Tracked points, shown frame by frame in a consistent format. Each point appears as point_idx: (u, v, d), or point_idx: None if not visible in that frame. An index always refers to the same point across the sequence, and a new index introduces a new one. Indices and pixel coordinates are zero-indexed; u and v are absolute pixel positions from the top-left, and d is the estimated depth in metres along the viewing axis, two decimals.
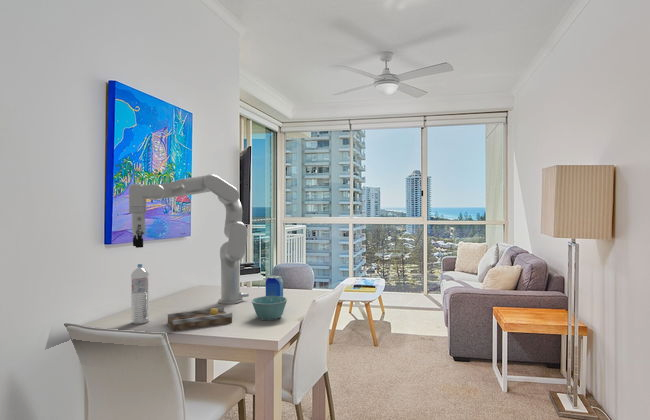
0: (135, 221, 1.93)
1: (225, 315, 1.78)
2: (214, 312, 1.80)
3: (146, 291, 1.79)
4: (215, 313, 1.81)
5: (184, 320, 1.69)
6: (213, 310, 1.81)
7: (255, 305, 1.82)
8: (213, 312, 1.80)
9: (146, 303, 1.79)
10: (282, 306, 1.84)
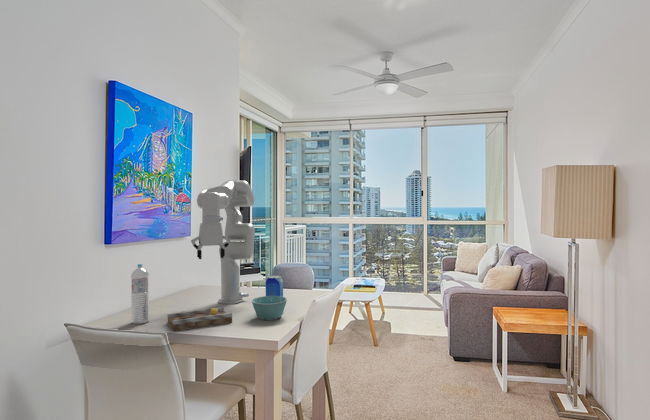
0: (222, 231, 1.88)
1: (225, 315, 1.78)
2: (214, 312, 1.80)
3: (146, 291, 1.79)
4: (215, 313, 1.81)
5: (184, 320, 1.69)
6: (213, 310, 1.81)
7: (255, 305, 1.82)
8: (213, 312, 1.80)
9: (146, 303, 1.79)
10: (282, 306, 1.84)
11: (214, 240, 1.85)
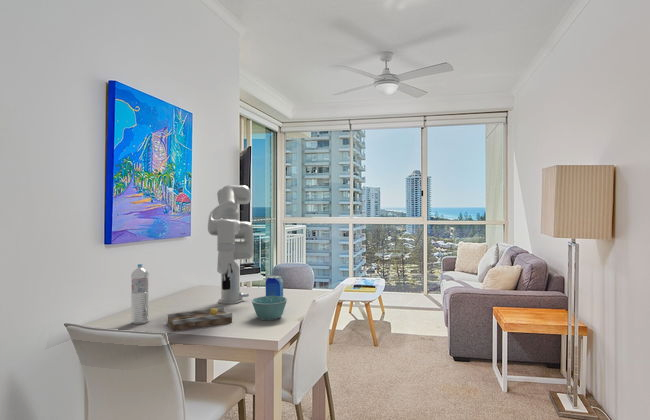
0: None
1: (225, 315, 1.78)
2: (214, 312, 1.80)
3: (146, 291, 1.79)
4: (215, 313, 1.81)
5: (184, 320, 1.69)
6: (213, 310, 1.81)
7: (255, 305, 1.82)
8: (213, 312, 1.80)
9: (146, 303, 1.79)
10: (282, 306, 1.84)
11: None
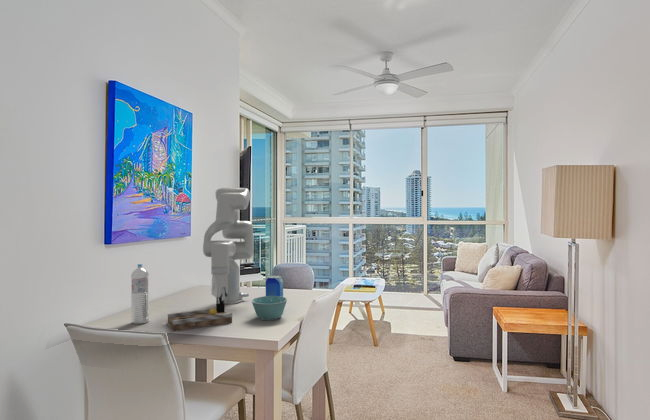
0: None
1: (225, 315, 1.78)
2: (213, 312, 1.80)
3: (146, 291, 1.79)
4: (214, 313, 1.81)
5: (184, 320, 1.69)
6: (212, 311, 1.80)
7: (255, 305, 1.82)
8: (212, 312, 1.80)
9: (146, 303, 1.79)
10: (282, 306, 1.84)
11: None
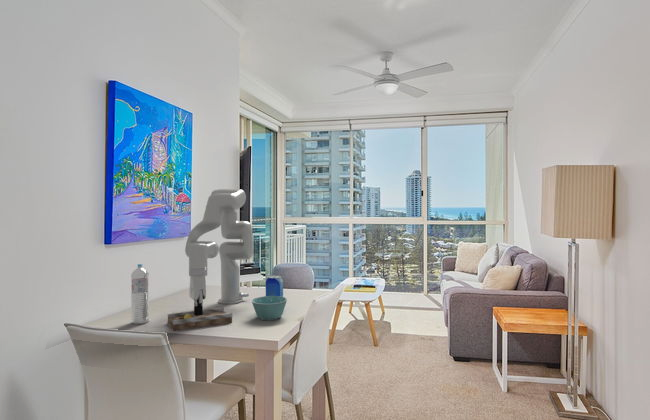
0: None
1: (225, 315, 1.78)
2: None
3: (146, 291, 1.79)
4: None
5: (184, 320, 1.69)
6: None
7: (255, 305, 1.82)
8: None
9: (146, 303, 1.79)
10: (282, 306, 1.84)
11: None
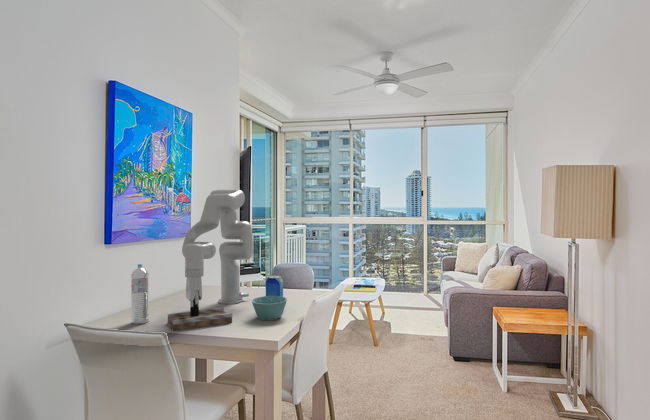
0: None
1: (225, 315, 1.78)
2: None
3: (146, 291, 1.79)
4: None
5: (184, 320, 1.69)
6: None
7: (255, 305, 1.82)
8: None
9: (146, 303, 1.79)
10: (282, 306, 1.84)
11: None
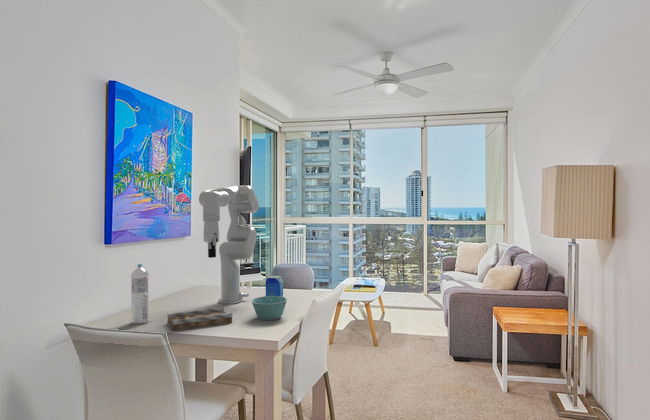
0: None
1: (225, 315, 1.78)
2: None
3: (146, 291, 1.79)
4: None
5: (184, 320, 1.69)
6: None
7: (255, 305, 1.82)
8: None
9: (146, 303, 1.79)
10: (282, 306, 1.84)
11: None
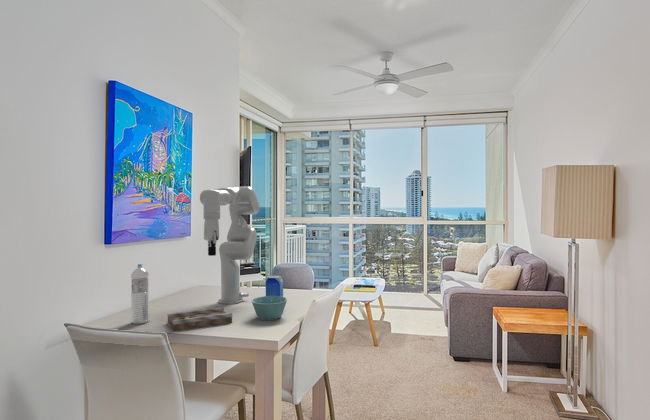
0: None
1: (225, 315, 1.78)
2: None
3: (146, 291, 1.79)
4: None
5: (184, 320, 1.69)
6: None
7: (255, 305, 1.82)
8: None
9: (146, 303, 1.79)
10: (282, 306, 1.84)
11: None
